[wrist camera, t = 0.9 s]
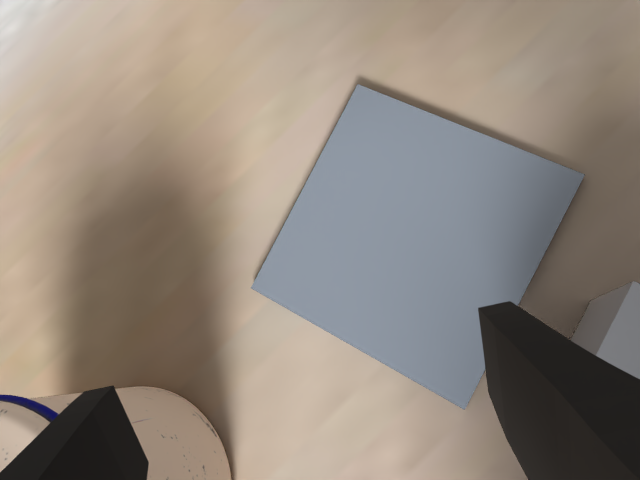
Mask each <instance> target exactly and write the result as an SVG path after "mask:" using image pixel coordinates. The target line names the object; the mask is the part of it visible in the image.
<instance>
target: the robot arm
mask: <svg viewBox="0 0 640 480" xmlns="http://www.w3.org/2000/svg"><path fill="white" fill-rule="evenodd" d="M478 312H479V320H480V328H481V336H482V344H483V352H484V360H485V368H486V377H487V385H488V392H489V395H490V398H491V400H492V403H493V405H494V408H495V411H496V413H497V416H498V418H499V421H500V423H501V426H502V428H503V431H504V433H505V436H506V438H507V440H508V442H509V444H510V446H511V448H512V450H513V452H514V454H515V456H516V457H517V459H518V461H519V463H520V465H521V467H522V469H523V470H524V472H525V474H526V476H527V478H528V480H640V379H638V378H636V377H634V376H632V375H631V374H629V373H627V372H625V371H623V370H621V369H619V368H617V367H615V366H613V365H612V364H610V363H608V362H606V361H604V360H603V359H601V358H599V357H597V356H596V355H594V354H592V353H591V352H589V351H587V350H585V349H584V348H582V347H581V346H579V345H577V344H576V343H574V342H572V341H571V340H569V339H567V338H566V337H564V336H563V335H561V334H560V333H558V332H556V331H555V330H553V329H552V328H550V327H549V326H547V325H546V324H544V323H543V322H541V321H540V320H538V319H537V318H535V317H534V316H532V315H531V314H529V313H528V312H526V311H524V310H523V309H521V308H520V307H518V306H517V305H515V304H514V303H512V302H511V301H508V302H503V303H498V304H494V305H489V306H484V307H479V308H478ZM148 466H149V462H148V459H147V457H146V455H145V453H144V451H143V449H142V446H141V444H140V442H139V440H138V438H137V436H136V433H135V431H134V429H133V427H132V425H131V422H130V420H129V418H128V416H127V414H126V412H125V409H124V407H123V405H122V403H121V401H120V399H119V396H118V394H117V392H116V390H115V388H114V386H109V387H104V388H100V389H95V390H90V391H85V392H83V393H82V394H81V395H79V396H78V397H77V398H76V399H75V400H74V401H73V402H71V403H70V404H69V405H68V406H67V407H66V408H65V409H64V410H63V411H62V412H61V413H60V414H59V415H58V416H57V417H56V418H55V419H54V420H53V421H52V422H51V423H50V424H49V425H48V426H47V427H46V428H45V429H44V430H43V431H42V432H41V433H40V434H39V435H38V436H37V437H36V438H35V439H34V440H33V441H32V442H31V443H30V444H29V445H27V446H26V447H25V448H24V449H23V450H22V451H21V452H20V453H19V454H18V455H17V456H16V457H15V458H14V459H13V460H12V461H11V462H10V463H9V464H8V465H7V466H6V467H5V468H4V469H3V470H2V471H1V472H0V480H147V474H148Z"/></svg>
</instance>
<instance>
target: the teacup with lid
mask: <svg viewBox="0 0 640 480" xmlns="http://www.w3.org/2000/svg"><path fill="white" fill-rule="evenodd" d="M115 390H116V392H117V394H118V396H119V399H120V401H121V403H122V405H123V407H124V409H125V412H126V414H127V416H128V418H129V420H130V422H131V425H132V427H133V429H134V431H135V433H136V436H137V438H138V440H139V442H140V444H141V446H142V449H143V451H144V453H145V455H146V457H147V459H148V462H149V466H148V474H147V480H231V473H230V467H229V463H228V459H227V456H226V452H225V450H224V447H223V445H222V442H221V440H220V438H219V436H218V434H217V432H216V431H215V429H214V428H213V426H212V425H211V423H210V422H209V421H208V419H207V418H206V417H205V416H204V415H203V414H202V413H201V412H200V410H199V409H197V408H196V407H195V406H194V405H193V404H192V403H190V402H189V401H187V400H186V399H184V398H183V397H181V396H179V395H177V394H175V393H173V392H170V391H168V390H164V389H161V388H156V387H148V386H137V387H127V388H118V389H115ZM81 394H82V393H74V394H65V395H56V396H48V397H39V398H30V399H27V398H24V397H18V396H13V395H0V472H1V471H2V470H3V469H4V468H5V467H6V466H7V465H8V464H9V463H10V462H11V461H12V460H13V459H14V458H15V457H16V456H17V455H18V454H19V453H20V452H21V451H22V450H23V449H24V448H25V447H26V446H27V445H29V444H30V443H31V442H32V441H33V440H34V439H35V438H36V437H37V436H38V435H39V434H40V433H41V432H42V431H43V430H44V429H45V428H46V427H47V426H48V425H49V424H50V423H51V422H52V421H53V420H54V419H55V418H56V417H57V416H58V415H59V414H60V413H61V412H62V411H63V410H64V409H65V408H66V407H67V406H68V405H69V404H70V403H71V402H73V401H74V400H75V399H76V398H77V397H78V396H79V395H81Z"/></svg>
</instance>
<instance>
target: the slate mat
mask: <svg viewBox="0 0 640 480" xmlns="http://www.w3.org/2000/svg"><path fill="white" fill-rule="evenodd" d="M584 175H585V174H582V173H580V172H577V171H575V170H572V169H570V168H567V167H565V166H562V165H560V164H557V163H555V162H552V161H550V160H547V159H545V158H542V157H540V156H537V155H535V154H532V153H529V152H527V151H524V150H522V149H519V148H517V147H514V146H512V145H509V144H507V143H504V142H502V141H499V140H497V139H494V138H492V137H489V136H487V135H484V134H482V133H479V132H477V131H474V130H472V129H469V128H467V127H464V126H462V125H459V124H457V123H454V122H452V121H449V120H447V119H444V118H442V117H439V116H437V115H434V114H432V113H429V112H427V111H424V110H422V109H419V108H417V107H414V106H412V105H409V104H406V103H404V102H401V101H399V100H396V99H394V98H391V97H389V96H386V95H384V94H381V93H379V92H376V91H374V90H371V89H369V88H366V87H364V86H361V85H359V84H357V86H356V88H355V90H354V92H353V94H352V96H351V98H350V100H349V102H348V104H347V105H346V107H345V109H344V111H343V113H342V115H341V117H340V119H339V121H338V123H337V125H336V126H335V128H334V130H333V132H332V134H331V136H330V138H329V140H328V142H327V144H326V146H325V147H324V149H323V151H322V153H321V155H320V157H319V159H318V161H317V163H316V165H315V167H314V168H313V170H312V172H311V174H310V176H309V178H308V180H307V182H306V184H305V186H304V188H303V189H302V191H301V193H300V195H299V197H298V199H297V201H296V203H295V205H294V207H293V209H292V210H291V212H290V214H289V216H288V218H287V220H286V222H285V224H284V226H283V228H282V230H281V231H280V233H279V235H278V237H277V239H276V241H275V243H274V245H273V247H272V249H271V251H270V252H269V254H268V256H267V258H266V260H265V262H264V264H263V266H262V268H261V270H260V272H259V273H258V275H257V277H256V279H255V281H254V283H253V285H252V287H251V288H252V289H253V290H255V291H257V292H259V293H260V294H262V295H264V296H266V297H267V298H269V299H271V300H273V301H274V302H276V303H278V304H280V305H281V306H283V307H285V308H287V309H288V310H290V311H292V312H294V313H295V314H297V315H299V316H301V317H303V318H304V319H306V320H308V321H310V322H311V323H313V324H315V325H317V326H318V327H320V328H322V329H324V330H325V331H327V332H329V333H331V334H332V335H334V336H336V337H338V338H339V339H341V340H343V341H345V342H346V343H348V344H350V345H352V346H353V347H355V348H357V349H359V350H360V351H362V352H364V353H366V354H367V355H369V356H371V357H373V358H375V359H376V360H378V361H380V362H382V363H383V364H385V365H387V366H389V367H390V368H392V369H394V370H396V371H397V372H399V373H401V374H403V375H404V376H406V377H408V378H410V379H411V380H413V381H415V382H417V383H418V384H420V385H422V386H424V387H425V388H427V389H429V390H431V391H432V392H434V393H436V394H438V395H439V396H441V397H443V398H445V399H447V400H448V401H450V402H452V403H454V404H455V405H457V406H459V407H461V408H462V409H464V410H465V408H466V406H467V404H468V402H469V400H470V398H471V396H472V394H473V392H474V391H475V389H476V387H477V385H478V383H479V381H480V379H481V377H482V375H483V373H484V371H485V369H486V368H485V360H484V352H483V344H482V336H481V328H480V320H479V312H478V308H479V307H484V306H489V305H494V304H498V303H503V302H508V301H511V302H512V303H514V304H515V305H517V306H518V304H519V303H520V301H521V299H522V297H523V295H524V293H525V291H526V289H527V287H528V285H529V283H530V281H531V279H532V277H533V275H534V273H535V271H536V269H537V267H538V265H539V263H540V261H541V259H542V258H543V256H544V254H545V252H546V250H547V248H548V246H549V244H550V242H551V240H552V238H553V236H554V234H555V232H556V230H557V228H558V226H559V224H560V222H561V220H562V218H563V216H564V215H565V213H566V211H567V209H568V207H569V205H570V203H571V201H572V199H573V197H574V195H575V193H576V191H577V189H578V187H579V185H580V183H581V181H582V179H583V177H584Z"/></svg>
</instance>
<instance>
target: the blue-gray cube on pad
mask: <svg viewBox="0 0 640 480" xmlns="http://www.w3.org/2000/svg"><path fill="white" fill-rule="evenodd" d="M571 341H572V342H574V343H576V344H577V345H579V346H581V347H582V348H584V349H585V350H587V351H589V352H591V353H592V354H594V355H596V356H597V357H599V358H601V359H603V360H604V361H606V362H608V363H610V364H612V365H613V366H615V367H617V368H619V369H621V370H623V371H625V372H627V373H629V374H631V375H632V376H634V377H636V378H638V379H640V284H639V283H637V282H635V281H632V282H630V283H628V284H626V285H624V286H621V287H619V288H617V289H615V290H613V291H610V292H608V293H606V294H604V295H602V296H600V297H597V298H595V299H593V300H591V301H590V303H589V305H588V307H587V309H586V311H585V313H584V315H583V317H582V319H581V321H580V323H579V325H578V327H577V329H576V331H575V333H574V335H573V337H572V339H571Z"/></svg>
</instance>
